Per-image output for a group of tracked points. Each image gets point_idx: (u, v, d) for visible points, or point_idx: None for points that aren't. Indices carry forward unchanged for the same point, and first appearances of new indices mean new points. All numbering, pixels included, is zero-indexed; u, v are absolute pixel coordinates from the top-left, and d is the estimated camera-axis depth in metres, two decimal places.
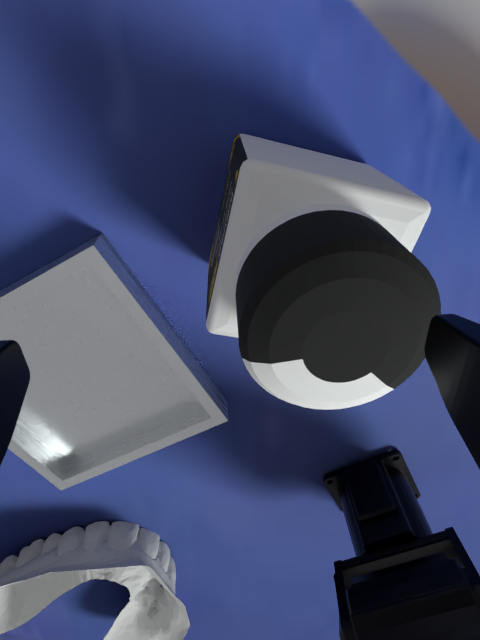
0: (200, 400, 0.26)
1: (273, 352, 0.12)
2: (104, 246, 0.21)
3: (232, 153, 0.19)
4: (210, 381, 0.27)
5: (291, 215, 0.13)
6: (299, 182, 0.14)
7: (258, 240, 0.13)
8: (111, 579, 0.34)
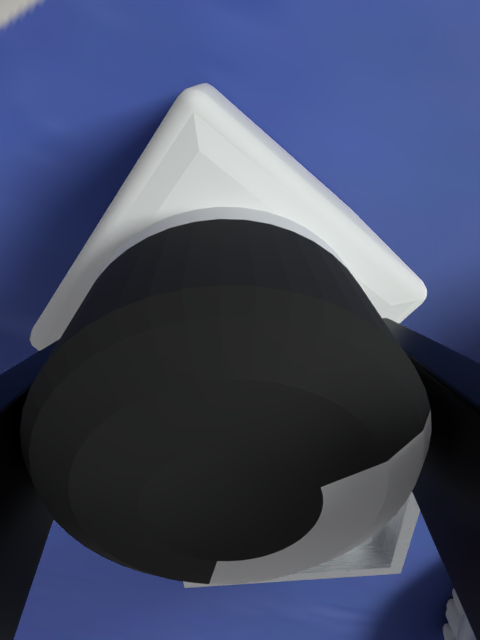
0: None
1: (186, 578, 0.07)
2: None
3: None
4: None
5: None
6: (71, 296, 0.09)
7: None
8: None
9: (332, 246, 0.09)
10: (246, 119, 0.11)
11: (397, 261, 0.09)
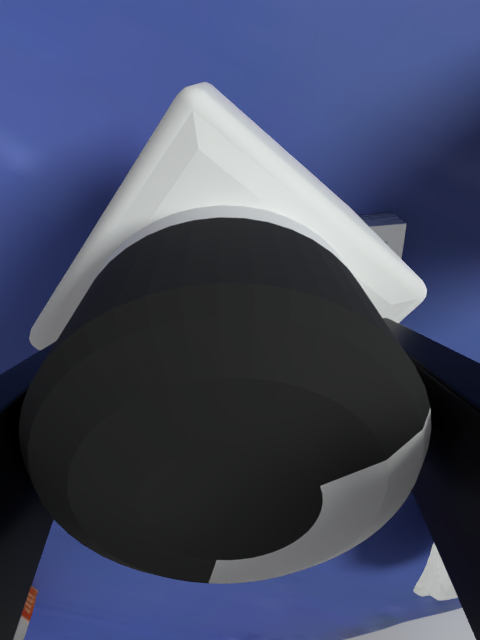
0: None
1: (185, 578, 0.07)
2: None
3: None
4: None
5: None
6: (70, 295, 0.09)
7: None
8: None
9: (332, 245, 0.09)
10: (246, 118, 0.11)
11: (397, 260, 0.09)
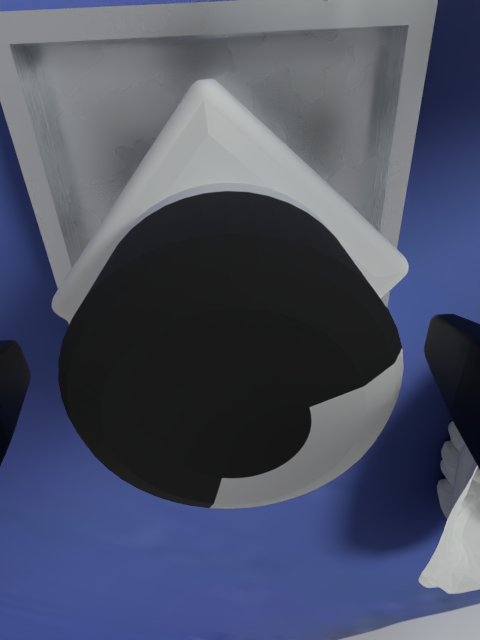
0: (355, 22, 0.13)
1: (194, 497, 0.08)
2: None
3: None
4: None
5: None
6: (91, 264, 0.10)
7: None
8: None
9: (324, 222, 0.10)
10: None
11: (382, 238, 0.10)
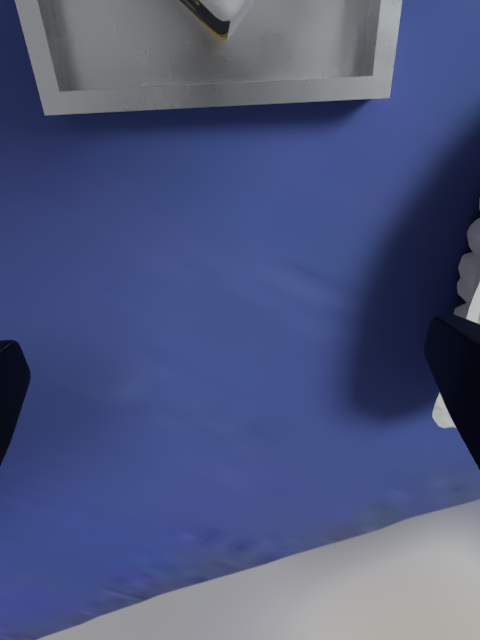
0: None
1: None
2: None
3: None
4: None
5: None
6: None
7: None
8: None
9: None
10: None
11: None
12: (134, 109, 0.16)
